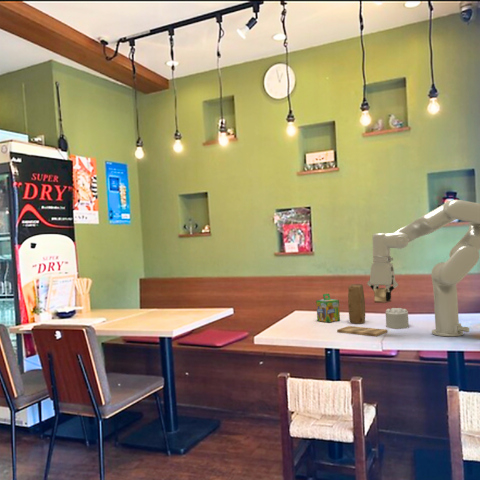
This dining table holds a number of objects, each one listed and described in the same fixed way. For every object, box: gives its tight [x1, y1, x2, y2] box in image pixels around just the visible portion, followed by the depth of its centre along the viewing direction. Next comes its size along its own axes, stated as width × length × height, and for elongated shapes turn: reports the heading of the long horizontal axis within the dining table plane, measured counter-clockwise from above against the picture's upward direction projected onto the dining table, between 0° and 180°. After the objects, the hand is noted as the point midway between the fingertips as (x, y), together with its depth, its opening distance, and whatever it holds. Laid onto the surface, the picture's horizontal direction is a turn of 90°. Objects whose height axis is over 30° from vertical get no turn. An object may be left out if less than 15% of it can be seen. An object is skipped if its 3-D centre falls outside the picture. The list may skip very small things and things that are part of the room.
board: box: [336, 325, 388, 337], centre depth 212 cm, size 20×11×1 cm, turn 47°
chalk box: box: [315, 293, 341, 323], centre depth 246 cm, size 9×9×15 cm
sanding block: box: [373, 287, 392, 304], centre depth 204 cm, size 5×7×6 cm, turn 138°
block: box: [347, 283, 366, 325], centre depth 238 cm, size 11×8×20 cm
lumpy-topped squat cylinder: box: [385, 307, 409, 330], centre depth 222 cm, size 10×13×9 cm
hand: (382, 299), depth 204 cm, fingers closed on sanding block, 4 cm apart
